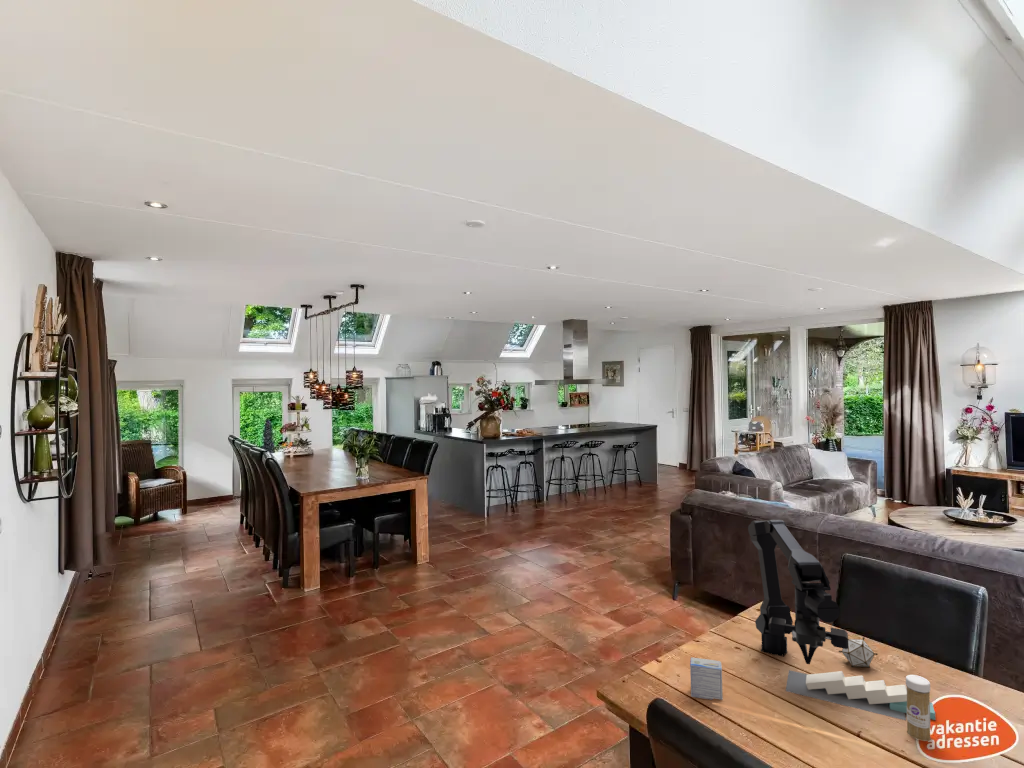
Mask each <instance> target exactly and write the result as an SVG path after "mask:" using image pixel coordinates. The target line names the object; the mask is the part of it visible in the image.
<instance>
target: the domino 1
mask: <svg viewBox="0 0 1024 768" xmlns="http://www.w3.org/2000/svg"><path fill="white" fill-rule="evenodd" d="M845 677H846V676H845V674H844V672H843V670H840V671H839V670H838V671H830V672H829V671H828V672H820V673H810V674H808V675H807V676H806V685H807V688H808V690H811V689H821V688H832V687H843V686H845Z"/></svg>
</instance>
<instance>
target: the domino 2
mask: <svg viewBox="0 0 1024 768" xmlns="http://www.w3.org/2000/svg"><path fill="white" fill-rule="evenodd" d="M865 682H866V680H865V677H864V676H863V675H855V676H854V675H853V676H845V686H843V687H832V688H826V691H827V693H828V694H839V693H850V692H861V691H866V685H865Z"/></svg>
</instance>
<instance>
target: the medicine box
mask: <svg viewBox="0 0 1024 768" xmlns="http://www.w3.org/2000/svg"><path fill="white" fill-rule="evenodd" d="M689 669H690V671H689V672H690V697H692V698H697V699H705V700H711V701H712V700H713V699H716V700H719V701H720V700H722V701H723V698H724V697H723V667H722V661H720V660H715V659H708V658H707V659H706V658H699V657H690V663H689Z"/></svg>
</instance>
